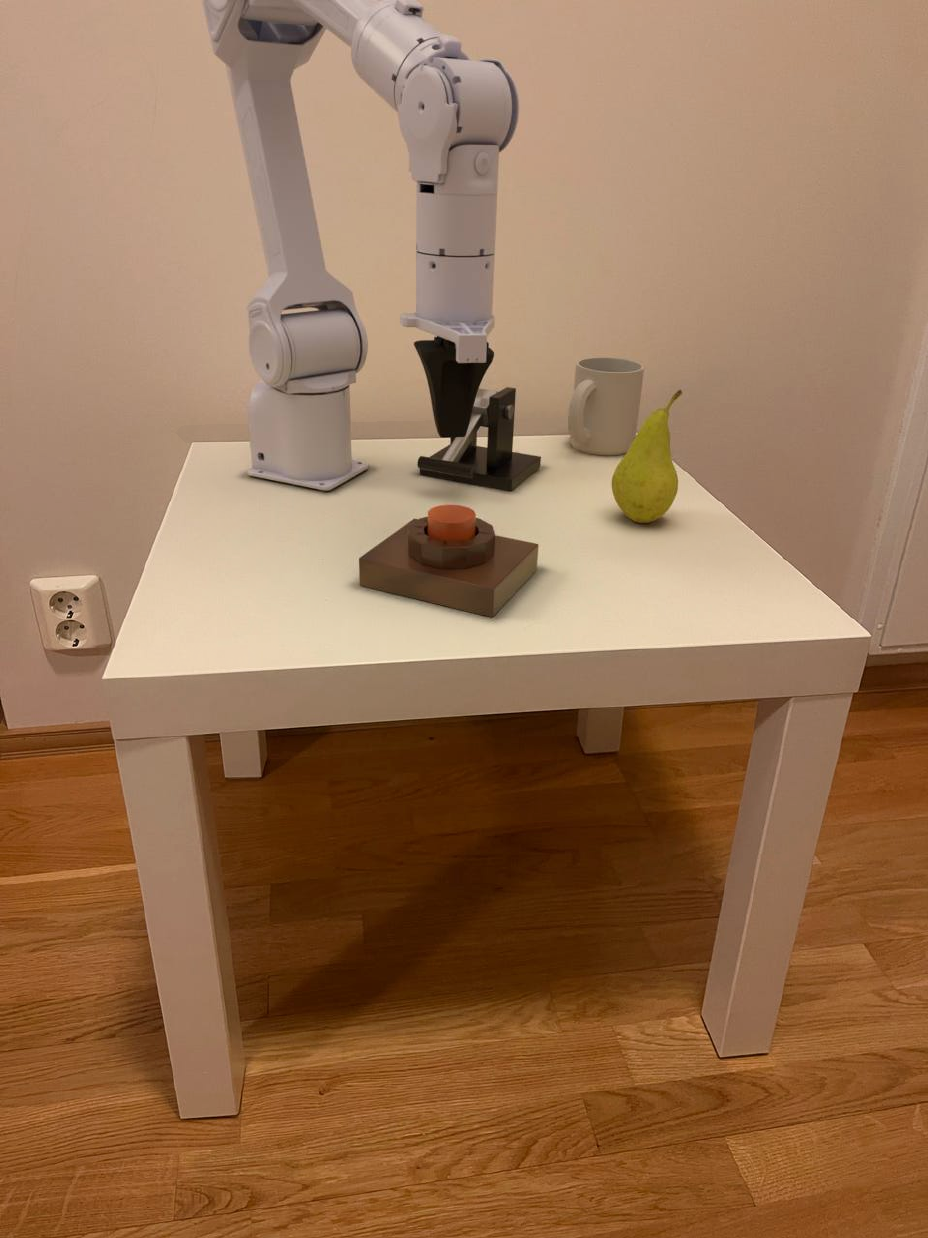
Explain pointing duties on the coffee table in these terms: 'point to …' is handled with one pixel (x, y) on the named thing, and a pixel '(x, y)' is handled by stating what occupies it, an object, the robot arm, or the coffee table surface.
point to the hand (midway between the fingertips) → (451, 434)
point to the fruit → (647, 471)
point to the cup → (605, 405)
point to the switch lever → (461, 441)
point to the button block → (450, 567)
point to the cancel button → (451, 523)
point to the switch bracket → (494, 450)
